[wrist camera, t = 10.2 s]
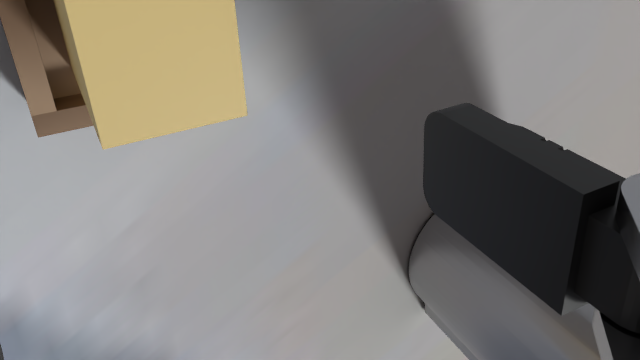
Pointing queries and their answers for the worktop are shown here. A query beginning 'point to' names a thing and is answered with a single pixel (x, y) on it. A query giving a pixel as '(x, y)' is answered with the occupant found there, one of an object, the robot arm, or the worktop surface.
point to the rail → (44, 66)
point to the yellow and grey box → (154, 64)
